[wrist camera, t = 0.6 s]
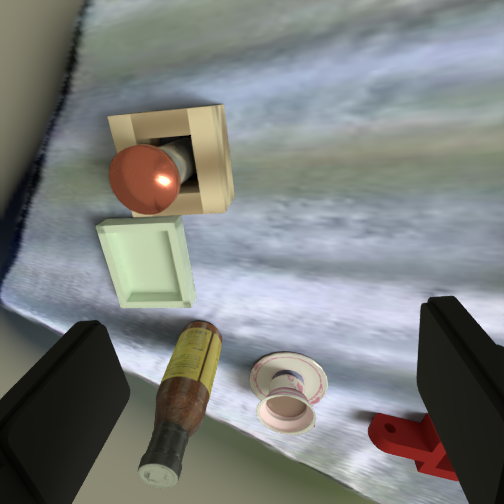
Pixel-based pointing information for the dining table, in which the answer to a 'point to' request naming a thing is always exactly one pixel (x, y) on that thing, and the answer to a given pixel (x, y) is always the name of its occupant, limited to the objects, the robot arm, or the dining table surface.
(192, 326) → the sauce bottle
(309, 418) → the teacup
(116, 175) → the pin
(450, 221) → the dining table surface
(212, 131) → the socket block
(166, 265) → the tray
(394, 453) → the mechanical linkage
